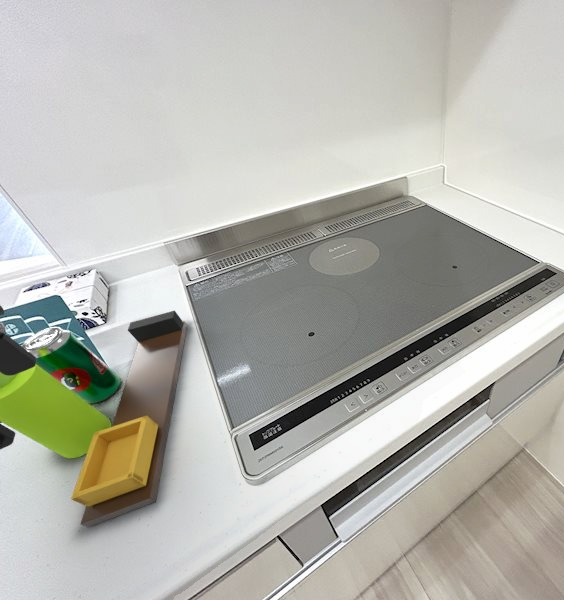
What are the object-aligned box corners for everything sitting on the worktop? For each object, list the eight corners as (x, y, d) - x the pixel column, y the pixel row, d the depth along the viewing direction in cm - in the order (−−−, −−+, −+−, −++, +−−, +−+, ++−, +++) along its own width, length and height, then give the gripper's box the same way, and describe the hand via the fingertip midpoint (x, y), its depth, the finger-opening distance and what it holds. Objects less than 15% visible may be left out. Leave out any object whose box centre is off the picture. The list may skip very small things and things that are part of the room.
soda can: (129, 384, 52) (71, 332, 44) (94, 410, 48) (25, 359, 40) (113, 372, 54) (55, 320, 46) (78, 396, 51) (10, 345, 43)
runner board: (155, 501, 38) (149, 498, 38) (87, 527, 37) (80, 524, 36) (187, 325, 61) (184, 320, 60) (145, 337, 59) (141, 332, 58)
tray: (146, 485, 38) (132, 477, 37) (87, 507, 37) (70, 499, 35) (158, 425, 44) (147, 415, 42) (108, 442, 43) (94, 432, 41)
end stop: (182, 329, 58) (173, 317, 56) (138, 342, 57) (127, 330, 55) (183, 322, 60) (174, 310, 58) (141, 334, 58) (130, 322, 56)
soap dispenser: (108, 404, 49) (-16, 305, 36) (113, 438, 45) (-26, 340, 32) (60, 429, 47) (-93, 334, 33) (61, 468, 42) (-114, 376, 29)
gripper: (-273, 201, 20) (-20, 368, 30) (-646, 353, 10) (-88, 517, 21) (-99, 167, 22) (77, 331, 33) (-268, 263, 13) (55, 449, 24)
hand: (13, 403), depth 27 cm, fingers open, 8 cm apart
